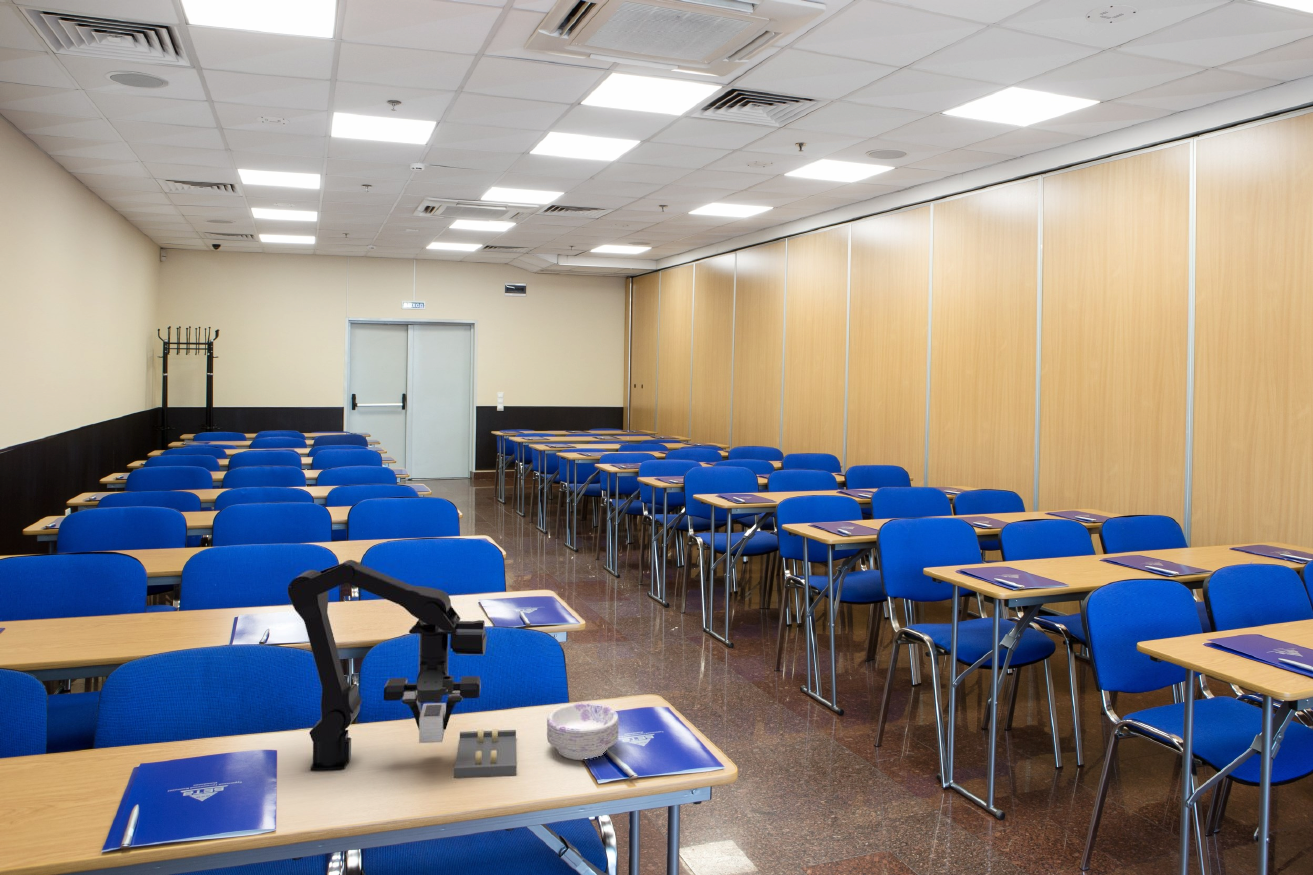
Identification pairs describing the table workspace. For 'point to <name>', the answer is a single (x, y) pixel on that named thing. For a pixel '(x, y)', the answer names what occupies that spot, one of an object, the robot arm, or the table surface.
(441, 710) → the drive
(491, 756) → the tray
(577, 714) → the paper bowls
